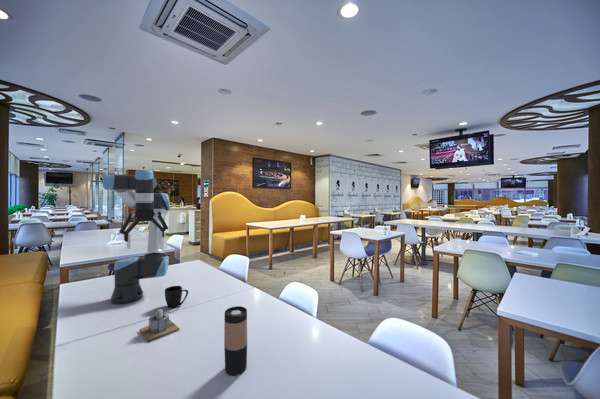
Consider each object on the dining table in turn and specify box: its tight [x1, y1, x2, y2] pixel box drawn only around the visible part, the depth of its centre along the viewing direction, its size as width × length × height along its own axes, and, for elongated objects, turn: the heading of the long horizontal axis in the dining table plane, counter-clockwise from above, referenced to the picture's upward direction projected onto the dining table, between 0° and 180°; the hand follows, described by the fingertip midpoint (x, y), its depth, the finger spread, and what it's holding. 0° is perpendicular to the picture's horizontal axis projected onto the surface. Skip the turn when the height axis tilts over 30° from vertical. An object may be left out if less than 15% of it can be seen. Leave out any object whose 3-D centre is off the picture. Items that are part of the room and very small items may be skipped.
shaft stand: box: [139, 308, 180, 343], centre depth 109 cm, size 12×12×9 cm
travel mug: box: [223, 305, 248, 377], centre depth 86 cm, size 8×8×20 cm
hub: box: [148, 313, 170, 333], centre depth 109 cm, size 7×7×5 cm
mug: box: [164, 285, 189, 309], centre depth 133 cm, size 8×12×10 cm
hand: (145, 246), depth 121 cm, fingers open, 13 cm apart
